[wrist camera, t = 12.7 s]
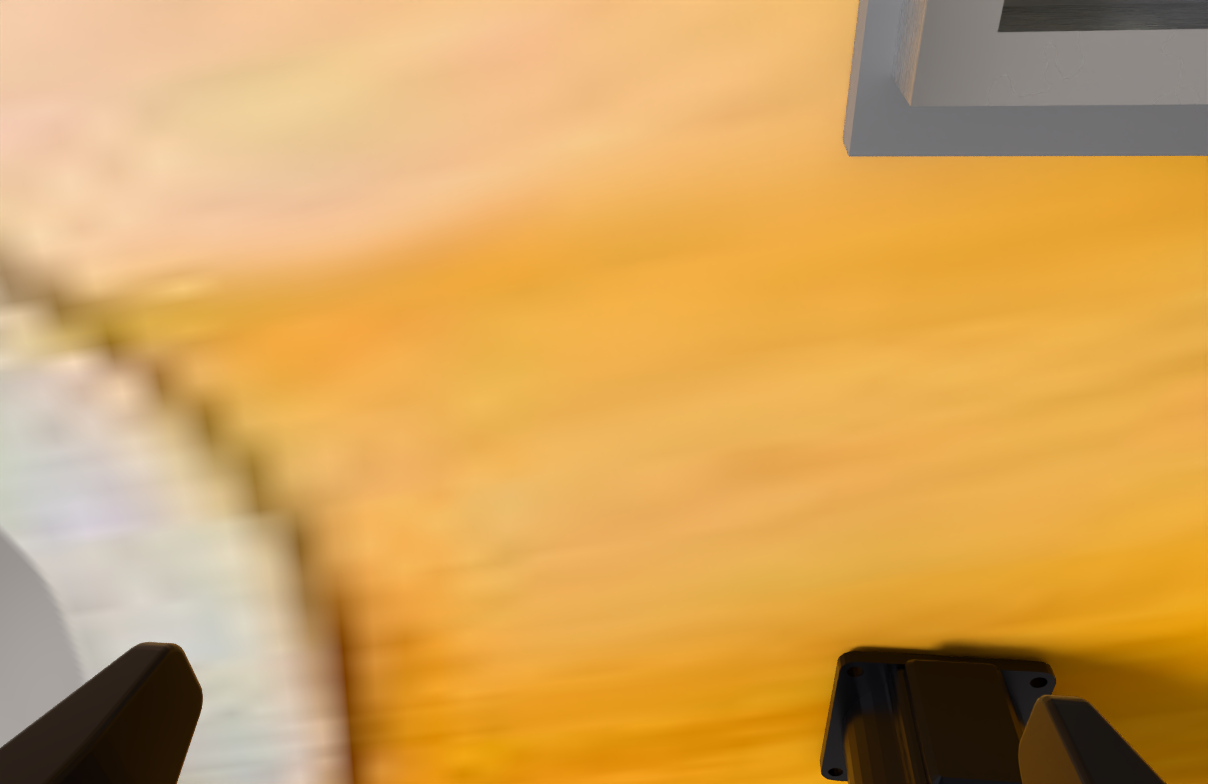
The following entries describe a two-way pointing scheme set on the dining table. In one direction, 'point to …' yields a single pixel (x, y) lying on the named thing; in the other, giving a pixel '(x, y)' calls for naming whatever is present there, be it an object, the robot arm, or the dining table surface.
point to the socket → (1029, 78)
